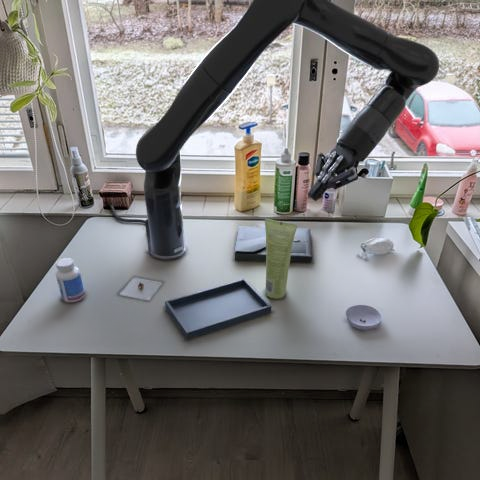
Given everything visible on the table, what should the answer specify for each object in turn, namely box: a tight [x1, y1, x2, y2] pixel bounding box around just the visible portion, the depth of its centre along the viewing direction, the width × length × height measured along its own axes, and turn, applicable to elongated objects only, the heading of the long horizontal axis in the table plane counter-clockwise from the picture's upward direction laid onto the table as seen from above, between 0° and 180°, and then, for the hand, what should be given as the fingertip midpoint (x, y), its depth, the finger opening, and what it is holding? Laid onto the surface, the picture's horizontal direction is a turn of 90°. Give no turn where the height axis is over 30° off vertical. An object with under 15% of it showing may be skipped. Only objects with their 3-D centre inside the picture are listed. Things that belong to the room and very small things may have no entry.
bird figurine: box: [358, 237, 396, 261], centre depth 136 cm, size 5×7×10 cm
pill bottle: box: [55, 257, 86, 303], centre depth 119 cm, size 6×5×10 cm
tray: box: [164, 277, 272, 340], centre depth 117 cm, size 21×13×2 cm, turn 118°
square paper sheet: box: [118, 277, 163, 301], centre depth 124 cm, size 8×8×2 cm
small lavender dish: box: [345, 304, 383, 331], centre depth 114 cm, size 8×8×2 cm
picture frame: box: [234, 225, 313, 264], centre depth 140 cm, size 16×3×21 cm
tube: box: [264, 218, 298, 299], centre depth 117 cm, size 6×5×20 cm
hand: (311, 198), depth 112 cm, fingers closed
